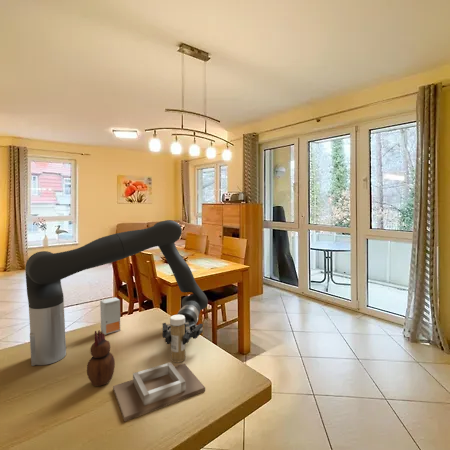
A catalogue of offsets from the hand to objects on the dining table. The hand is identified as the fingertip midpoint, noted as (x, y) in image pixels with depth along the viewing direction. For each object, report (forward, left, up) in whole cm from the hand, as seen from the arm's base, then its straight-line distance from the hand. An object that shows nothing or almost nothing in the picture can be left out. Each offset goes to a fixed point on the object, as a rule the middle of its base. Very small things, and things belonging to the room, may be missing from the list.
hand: (176, 341), depth 87 cm
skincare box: (-12, +34, -7) cm, 37 cm away
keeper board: (-8, -9, -7) cm, 14 cm away
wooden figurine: (-20, +2, -7) cm, 22 cm away
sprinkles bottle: (+2, +2, -7) cm, 8 cm away
